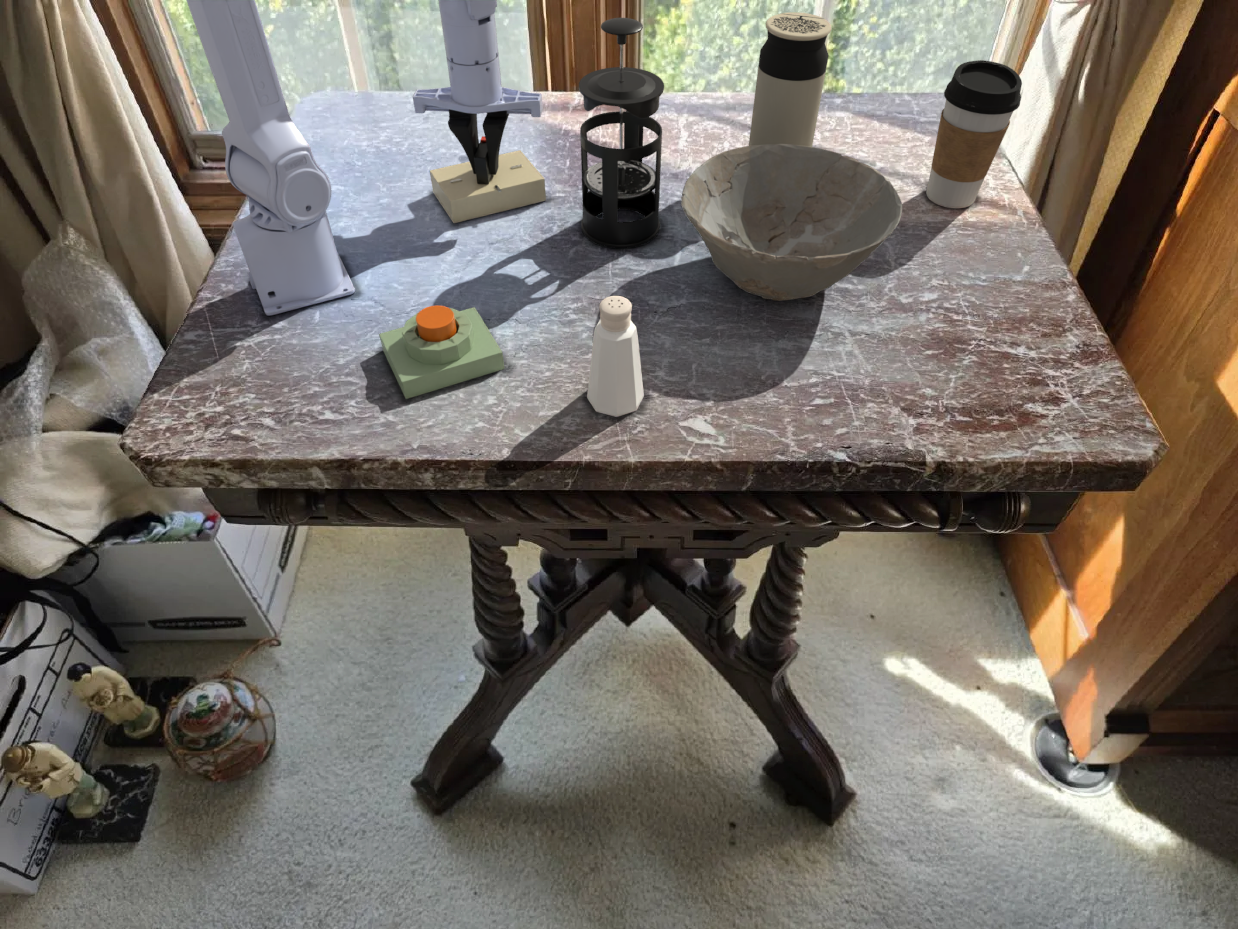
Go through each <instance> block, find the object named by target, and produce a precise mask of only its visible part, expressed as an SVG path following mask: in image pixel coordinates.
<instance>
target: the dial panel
mask: <svg viewBox="0 0 1238 929" xmlns="http://www.w3.org/2000/svg"><path fill="white" fill-rule="evenodd" d="M429 176H430V182H431V188H432V193H433V194H434V196H435V197H436V199H437V200H438V202H439V204H440V205H441V206H442V208H443V210H444V211H445V212H446V214H447V216H448V218H450V220H451V221H452V223H453V224H457V223H461V222H466V221H469V220H474V219H477V218H481V217H485V216H489V215H494V214H497V213H502V212H506V211H509V210H514V209H518V208H521V207H526V206H531V205H534V204H538V203H542V202H546V201H547V196H546V182H545V176H543V175H542V174H541V172H540V171H539V170H538V168H536V167H535V166H534V165H533V163H532V162H531V161H530V160H529V158H528V157H527V156H526V155H525V154H524V153H523V151H522V150H521V149H519V150H514V151H510V152H505V153H501V154H499V162H498V170H497V173H496V175H492V176H491V179H490V182H489V184H477V177H476V174H474V173H473V170H472V167H471V164H470V161H465V162H462V163H457V164H452V165H447V166H443V167H440V168H434V169H430V170H429Z"/></svg>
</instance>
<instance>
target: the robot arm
mask: <svg viewBox="0 0 1238 929" xmlns="http://www.w3.org/2000/svg"><path fill="white" fill-rule="evenodd" d="M185 1H186V3H187V6H188V9H189V12H190V14H191V15H190V16H191V17H192V19H193V23H194V26H195V28H196V31H197V34H198V37H199V41H200V42H201V45H202V49H203V51H204V54H205V56H206V60H207V62H208V65H209V68H210V70H211V73H212V77H213V79H214V82H215V85H216V87H217V90H218V93H219V96H220V99H221V101H222V104H223V107H224V109H225V112H226V113H225V114H226V115H227V118H228V121H229V122H228V123H226V125H225V126H224V127H223V128H222V130H221V135H222V138H223V141H224V145H225V161H224V169H225V173H226V177H227V179H228V181H229V183H230V184H231V185H232V186H233V188H235V189H236V190H237V191H239V192H240V193H242V194H243V195H246V198H247V201H248V210H249V214H248V215H246V216H245V217H242V218H240V219H237V220H235V221H233V222H232V227H233V230H234V233H235V235H236V238H237V240H238V244H239V246H240V249H241V252H242V255H243V257H244V260H245V263H246V265H247V268H248V271H247V272H246V274H247V276H248V279H249V282H250V285H251V288H252V290H255V289H256V292H257V296H258V297H259V301H260V303H261V306H262V308H263V311H264V314H265V315H266V316H268V317H269V316H274V315H278V314H282V313H285V312H289V311H293V310H297V309H301V308H305V307H309V306H312V305H316V304H320V303H323V302H328V301H331V300H336V299H339V298H342V297H347V296H351V295H353V294H355V292H356V288H355V286H354V284H353V281H352V280H351V278H350V275H349V273H348V271H347V269H346V267H345V265H344V263H343V260H342V258H341V256H340V254H339V253H338V249H337V246H336V242H335V239H334V235H333V232H332V228H331V225H330V224H331V223H330V221H329V217H328V213H327V210H328V208H329V205H330V203H331V200H332V184H331V181H330V178H329V175H327V173H326V171H325V170H324V169H323V168H322V167H320V165H319V164H318V163H317V160H316V159H315V157H314V155H313V151H312V148H311V146H310V144H309V142H308V141H307V140H306V138H305V137H304V135H303V134H302V133H301V131H300V130H299V128H298V127H297V125H296V124H295V123H294V121H293V120H292V118H291V116H290V112H289V110H288V105H287V103H286V100H285V96H284V93H283V89H282V86H281V83H280V79H279V76H278V73H277V69H276V66H275V63H274V59H273V56H272V53H271V49H270V46H269V42H268V39H267V36H266V33H265V29H264V26H263V22H262V20H261V16H260V14H259V13H260V12H259V10H258V6H257V3H256V0H185ZM438 6H439V7H438V8H439V15H440V21H441V22H440V23H441V30H442V35H443V42H444V51H445V58H446V64H447V69H448V70H447V71H448V72H447V73H448V78H449V86H446V87H435V88H423V89H421V88H418V89H415V91H414V94H412V100H413V107H414V113H415V114H425V113H426V112H427V111H428V112H447V113H448V120H447V124H448V126H447V127H448V128H449V130H450V132H451V133H452V134H453V135H454V136H455V138H456V139H457V141H458V142H459V144H460V146H461V147H462V149H463V151H464V152H465V155H466V157H467V159H468V162H470V164H471V167H472V170H473V173H474V174H476V169H475V162H474V156H475V154H476V151H477V148H478V146H479V143H480V140H479V132H478V131H479V130H478V114H486V115H485V117H484V120H483V122H482V130H483V133H484V136H485V138H486V143H487V149H488V161H489V170H490V175H496V173H497V170H498V162H499V155H500V149H501V144H502V139H503V135H504V132H505V127H506V124H507V121H508V119H509V116H510V115H531V117H532V118H541V117H542V113H543V94H542V93H540V92H529V91H524V90H519V89H514V88H509V87H505V86H502V85H503V84H502V77H501V76H502V74H501V67H500V66H501V65H500V64H501V63H500V55H499V43H498V33H497V25H496V14H495V13H496V8H498V1H497V0H438Z"/></svg>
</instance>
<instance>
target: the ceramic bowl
mask: <svg viewBox="0 0 1238 929" xmlns="http://www.w3.org/2000/svg"><path fill="white" fill-rule="evenodd" d="M680 206H681V208H682V210H683V212H684V214H685V216H686V217H687V219H688V221H689V222H690V224H692V226H693V227H694V229H695V230H696V231H697V232H698V234H699V236H700V237H701V239H702V241H703V243H704V244H705V246H706V248H707V250H708V252H709V254H710V256H711V259H712V262H713V265H714V266H715V267H716V268H717V269H718V270H719V271H720V272H721V273H723V275H725V276H726V277H727V278H728V279H730V281H732V282H733V283H734V284H735V285H736V286H737V287H738V288H739V289H741V290H743V291H744V292H746V293H748V294H751V295H754V296H759V297H761V298H762V299H765V300H772V301H778V302H782V301H790V300H797V299H804V298H810V297H813V296H815V295H816V294H818V293H819V292H821V291H824V290H826V289H828V288H830V287H831V286H833V285H835V284H836V283H838V282H840V281H841V280H843V279H844V278H846V277H847V276H848V275H850V274H851V273H852V272H853V271H854V270H856V269H857V268H858V267H859V266H860V265H861V264H862V263H863V262H864V261H866V260H867V259H868V257H869V256H871V255H872V253H873V252H875V250H877V248H879V247H880V246H881V245H882V244H883V243H884V242H885V240H887V238H888V237H889V236H890V235H891V234H892V233H893V232H894V231H895V229H896V228H897V227H898V225H899V223H900V221H901V218H902V212H903V202H902V199H901V197H900V195H899V194H898V191H897V190H896V189H895V187H894V186H893V184H892V182H891V181H890V180H888V179H887V178H886V177H885V176H884V175H883V174H882V173H881V172H880V171H879V170H877V169H876V168H874V167H873V166H870V165H869V164H866V163H863V162H860V161H859V160H857V159H856V158H854V157H851V156H847V155H842V154H841V153H839V152H835V151H832V150H829V149H824V148H819V147H814V146H812V147H808V146H800V145H791V144H772V145H750V146H749V145H747V146H741V147H736V148H731V149H728V150H725V151H722V152H720V153H718V154H715V155H714V156H712V157H710V158H708V159H707V160H706V161H704V162H703V163H701V165H700V166H698V167H697V168H695V169H694V170H693V172H692V173H691V174H690V175H689V177H688V178H687V179H686V180H685V183H684V186H683V189H682V192H681V198H680Z"/></svg>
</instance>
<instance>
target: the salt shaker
mask: <svg viewBox="0 0 1238 929" xmlns="http://www.w3.org/2000/svg"><path fill="white" fill-rule="evenodd" d="M598 306H599V308H598V309H599V317H600V319H599V321H598V322H597V324H596V325H595V328H594V330H593V338H592V348H591V355H590V356H591V357H590V367H589V375H588V376H589V377H588V383H587V384H588V386H587V392H586V398H587V400H588V401H589V403H590V405H591V406H592V408H593V409H594V411H595V412H596V413H600V414H604V415H608V416H612V417H616V418H618V417H621V416H624V415H627V414H630V413H634V412H637V410H638V408H639V407H640V406H641V405H640V404H641V403H642V401H643V398H644V397H645V394H644V392H645V391H644V383H643V375H642V366H641V365H642V363H641V354H640V345H639V336H638V328H637V326H636V325H635V323H634V322H633V321H632V309H633V304H632V302H631V301H630V300H629V299H628V298H626V297H624V296H621V295H611V296H607V297H605V298H604V299H602V300H601V301H600V303H599V305H598Z"/></svg>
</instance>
